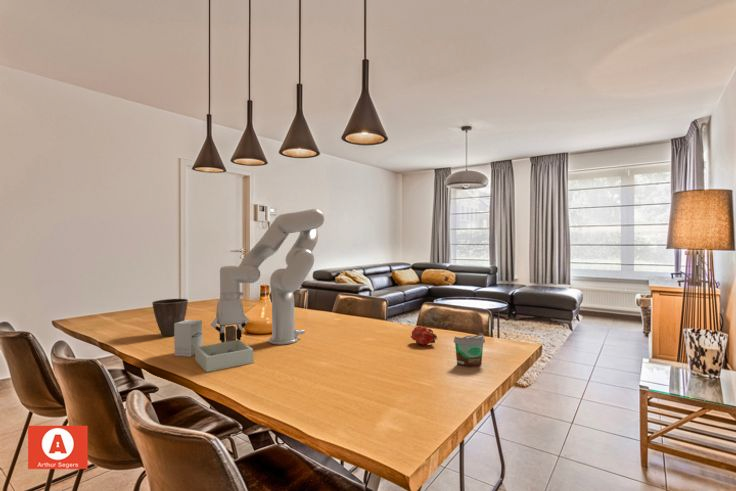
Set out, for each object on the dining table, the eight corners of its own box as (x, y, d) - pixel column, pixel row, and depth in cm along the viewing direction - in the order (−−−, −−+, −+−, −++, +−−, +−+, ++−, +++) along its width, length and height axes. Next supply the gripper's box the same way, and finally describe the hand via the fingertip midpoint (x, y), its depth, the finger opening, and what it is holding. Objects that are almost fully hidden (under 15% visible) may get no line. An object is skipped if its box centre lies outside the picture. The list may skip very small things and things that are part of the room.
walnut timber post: (233, 347, 158) (232, 325, 158) (236, 349, 155) (235, 327, 155) (225, 348, 157) (225, 326, 156) (228, 350, 153) (228, 328, 153)
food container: (465, 370, 128) (465, 340, 128) (453, 365, 133) (453, 336, 133) (493, 364, 134) (492, 336, 134) (480, 359, 139) (480, 332, 139)
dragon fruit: (411, 345, 165) (435, 354, 157) (403, 337, 159) (428, 346, 151) (419, 327, 168) (443, 335, 160) (412, 319, 162) (436, 327, 154)
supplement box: (191, 356, 146) (190, 323, 146) (173, 355, 147) (173, 323, 147) (203, 351, 153) (202, 319, 153) (186, 350, 154) (186, 319, 154)
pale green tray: (238, 352, 151) (238, 339, 151) (253, 362, 138) (253, 349, 138) (195, 360, 141) (195, 346, 141) (206, 372, 128) (206, 357, 128)
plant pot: (149, 334, 181) (148, 300, 181) (182, 329, 191) (182, 297, 191) (157, 340, 170) (157, 304, 170) (193, 334, 180) (192, 300, 180)
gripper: (247, 293, 164) (248, 335, 164) (205, 297, 153) (206, 342, 154) (254, 295, 158) (254, 339, 158) (210, 299, 147) (211, 346, 148)
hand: (230, 340), depth 156 cm, fingers open, 5 cm apart
